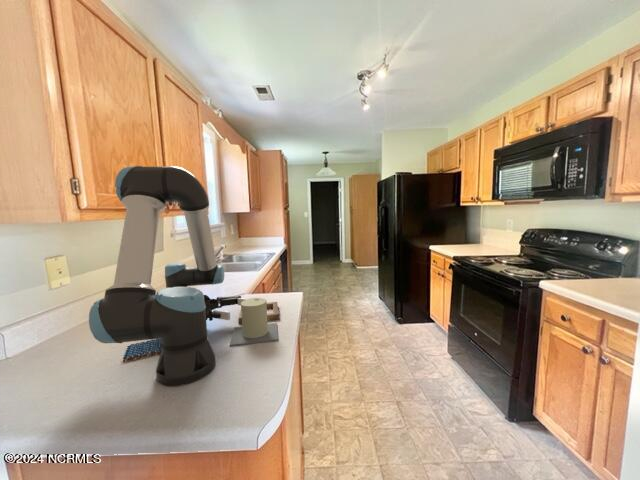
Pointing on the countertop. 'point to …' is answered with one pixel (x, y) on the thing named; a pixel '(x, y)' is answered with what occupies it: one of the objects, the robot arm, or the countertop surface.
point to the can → (254, 317)
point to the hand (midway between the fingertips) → (241, 309)
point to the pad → (241, 340)
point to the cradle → (270, 315)
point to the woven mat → (142, 350)
